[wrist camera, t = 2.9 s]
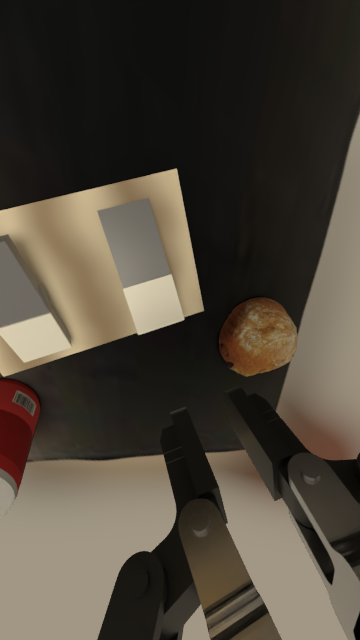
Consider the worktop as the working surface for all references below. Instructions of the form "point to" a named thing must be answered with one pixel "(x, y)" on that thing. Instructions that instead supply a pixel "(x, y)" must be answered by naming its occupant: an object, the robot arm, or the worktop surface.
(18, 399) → the canned food
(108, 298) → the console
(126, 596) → the robot arm
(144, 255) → the switch
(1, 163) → the worktop surface
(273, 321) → the bread roll
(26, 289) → the switch
